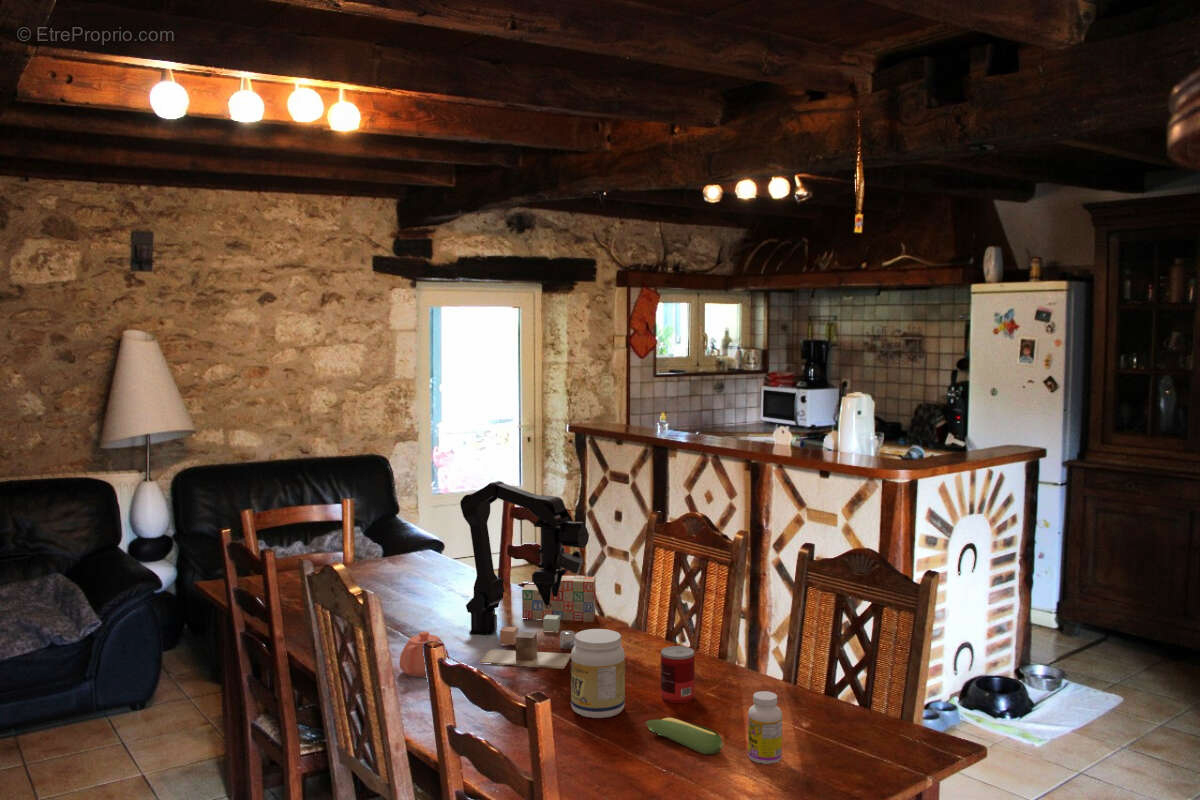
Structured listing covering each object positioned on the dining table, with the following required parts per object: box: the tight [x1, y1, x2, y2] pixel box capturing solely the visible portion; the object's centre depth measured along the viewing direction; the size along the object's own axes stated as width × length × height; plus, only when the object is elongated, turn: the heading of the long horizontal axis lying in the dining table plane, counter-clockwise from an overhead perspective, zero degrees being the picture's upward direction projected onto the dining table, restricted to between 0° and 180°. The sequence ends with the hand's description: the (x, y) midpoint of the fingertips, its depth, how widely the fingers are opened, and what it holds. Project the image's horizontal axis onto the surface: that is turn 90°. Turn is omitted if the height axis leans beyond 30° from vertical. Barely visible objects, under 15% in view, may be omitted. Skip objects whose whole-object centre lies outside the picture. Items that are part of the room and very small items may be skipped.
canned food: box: [660, 645, 695, 704], centre depth 227 cm, size 8×8×11 cm
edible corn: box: [645, 717, 725, 755], centre depth 202 cm, size 5×20×5 cm, turn 44°
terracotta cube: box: [499, 626, 519, 646], centre depth 268 cm, size 4×4×4 cm
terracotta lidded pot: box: [399, 631, 450, 679], centre depth 243 cm, size 12×14×10 cm
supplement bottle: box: [747, 690, 783, 765], centre depth 194 cm, size 7×7×13 cm
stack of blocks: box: [521, 575, 597, 623], centre depth 291 cm, size 21×6×12 cm, turn 85°
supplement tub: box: [570, 628, 626, 719], centre depth 220 cm, size 12×12×17 cm
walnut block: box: [515, 631, 538, 661], centre depth 254 cm, size 4×4×6 cm
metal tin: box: [559, 630, 576, 650], centre depth 264 cm, size 4×4×4 cm
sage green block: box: [542, 615, 561, 632], centre depth 279 cm, size 4×4×4 cm
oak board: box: [479, 649, 571, 670], centre depth 254 cm, size 22×10×1 cm, turn 80°
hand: (551, 600), depth 266 cm, fingers open, 9 cm apart
